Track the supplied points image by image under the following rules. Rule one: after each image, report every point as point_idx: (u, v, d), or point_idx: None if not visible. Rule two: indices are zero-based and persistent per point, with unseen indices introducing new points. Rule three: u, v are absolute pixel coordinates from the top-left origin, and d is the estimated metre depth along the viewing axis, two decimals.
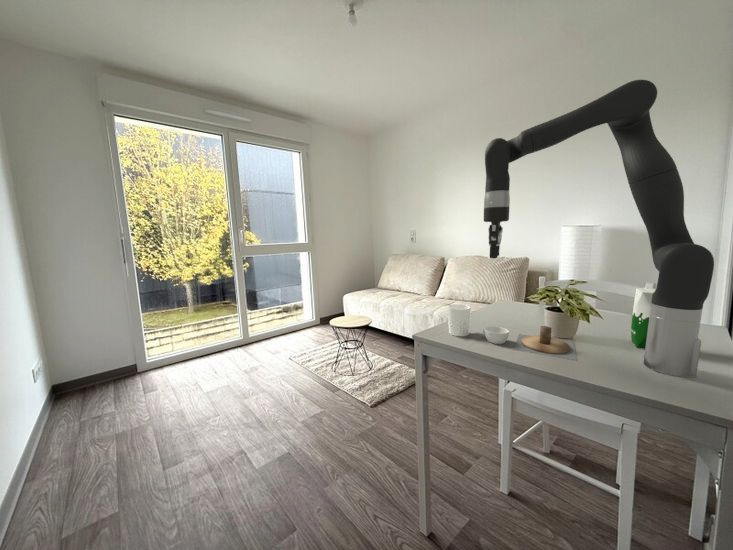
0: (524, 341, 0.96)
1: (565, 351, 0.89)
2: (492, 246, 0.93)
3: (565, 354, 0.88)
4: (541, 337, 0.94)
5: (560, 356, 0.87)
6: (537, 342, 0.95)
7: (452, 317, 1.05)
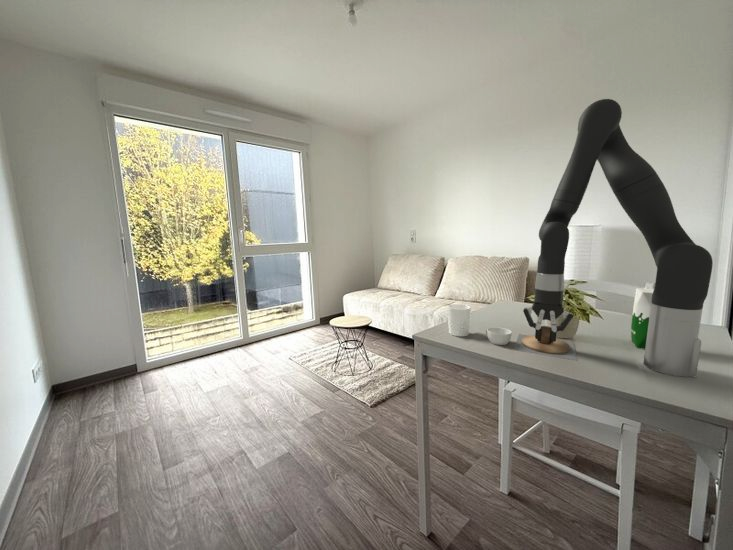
0: (524, 341, 0.96)
1: (565, 351, 0.89)
2: None
3: (565, 354, 0.88)
4: (541, 337, 0.94)
5: (560, 356, 0.87)
6: (537, 342, 0.95)
7: (452, 317, 1.05)
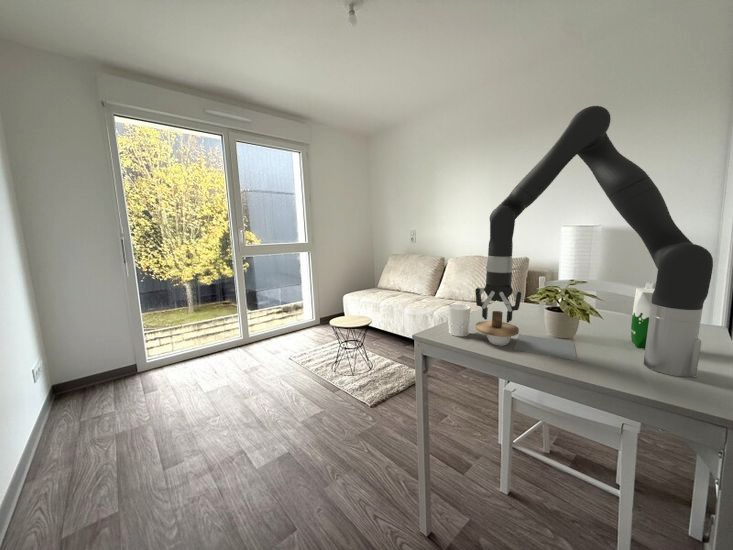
0: (477, 325, 1.00)
1: (513, 334, 0.93)
2: (512, 311, 0.95)
3: (565, 354, 0.88)
4: (493, 321, 0.98)
5: (560, 356, 0.87)
6: (490, 326, 0.99)
7: (452, 317, 1.05)
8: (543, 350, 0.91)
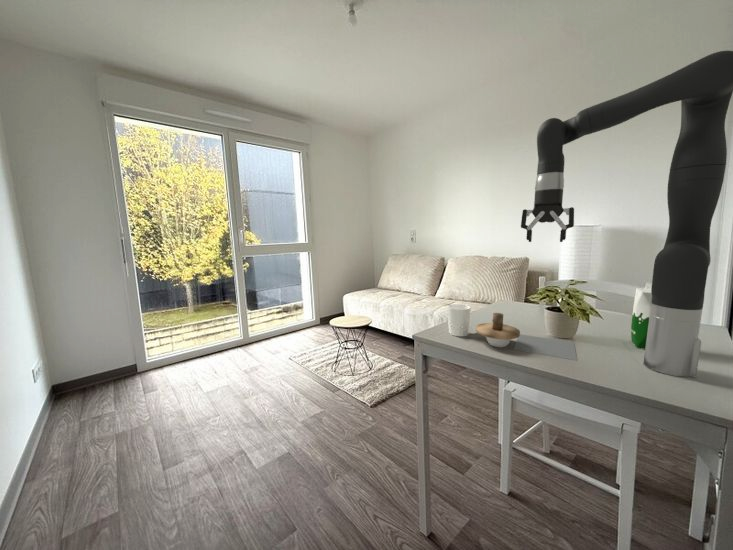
0: (478, 328, 0.98)
1: (514, 336, 0.91)
2: (566, 229, 0.92)
3: (565, 354, 0.88)
4: (493, 323, 0.96)
5: (560, 356, 0.87)
6: (490, 328, 0.97)
7: (452, 317, 1.05)
8: (543, 350, 0.91)
